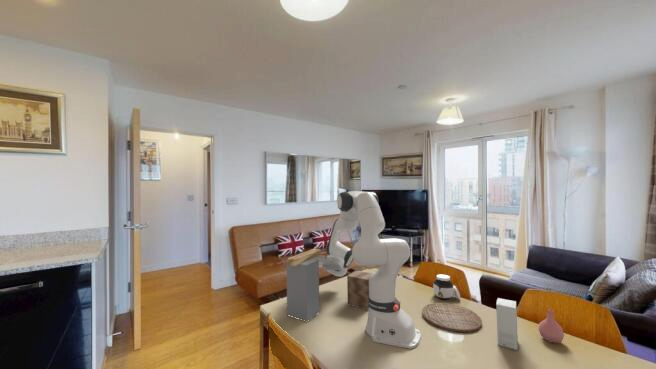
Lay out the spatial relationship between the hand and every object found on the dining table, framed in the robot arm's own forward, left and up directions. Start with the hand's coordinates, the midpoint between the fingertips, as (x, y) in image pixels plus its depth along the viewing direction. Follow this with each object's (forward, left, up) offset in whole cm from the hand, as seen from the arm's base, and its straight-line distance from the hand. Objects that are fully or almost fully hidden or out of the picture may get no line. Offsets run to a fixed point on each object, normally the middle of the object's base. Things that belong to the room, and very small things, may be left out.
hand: (318, 256), depth 138 cm
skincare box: (-83, -7, -25) cm, 87 cm away
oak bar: (0, +12, +1) cm, 12 cm away
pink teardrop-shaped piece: (-98, -17, -25) cm, 103 cm away
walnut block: (-20, -11, -25) cm, 34 cm away
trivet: (-62, -17, -26) cm, 69 cm away
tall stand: (0, +14, -25) cm, 29 cm away
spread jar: (-58, -41, -25) cm, 75 cm away
